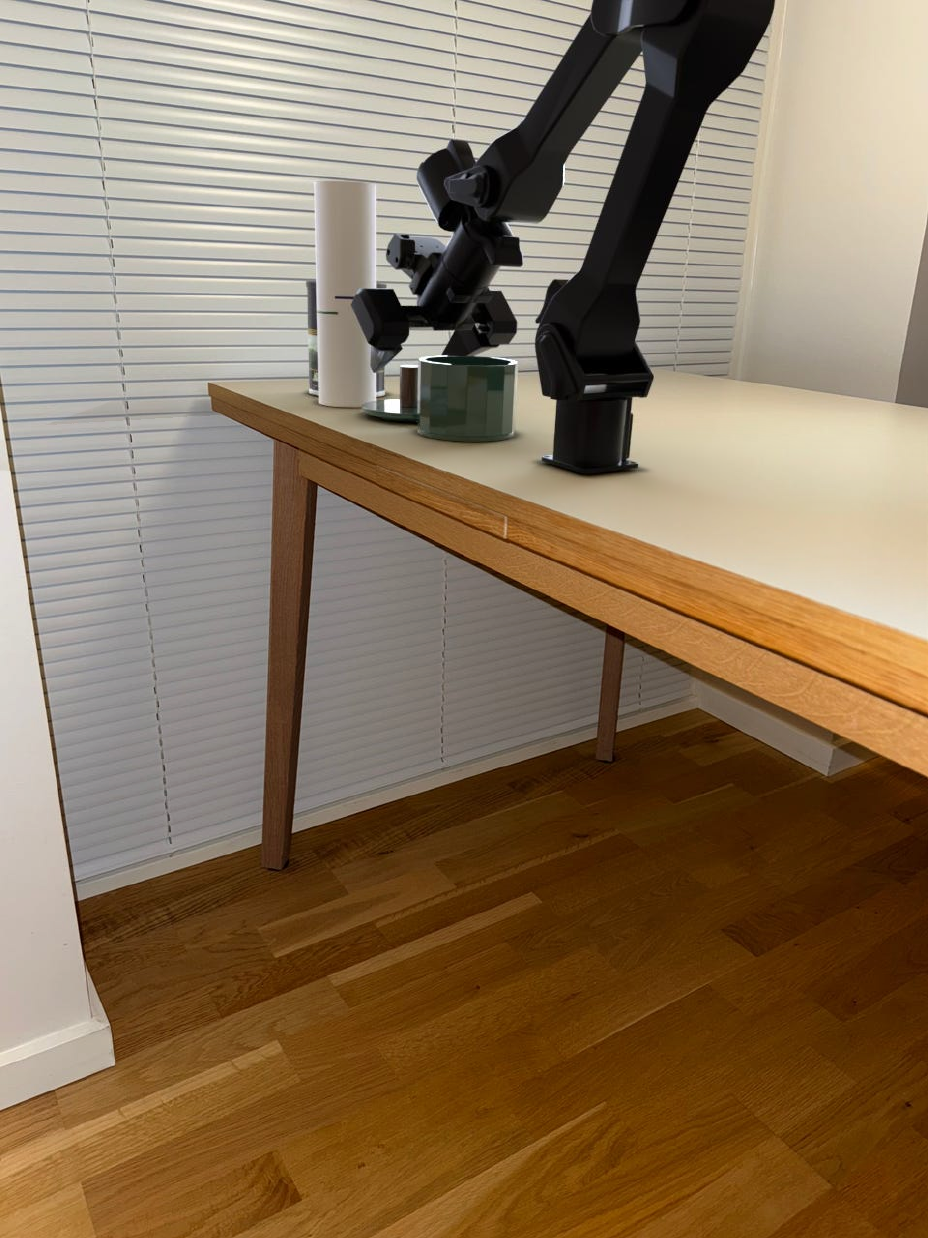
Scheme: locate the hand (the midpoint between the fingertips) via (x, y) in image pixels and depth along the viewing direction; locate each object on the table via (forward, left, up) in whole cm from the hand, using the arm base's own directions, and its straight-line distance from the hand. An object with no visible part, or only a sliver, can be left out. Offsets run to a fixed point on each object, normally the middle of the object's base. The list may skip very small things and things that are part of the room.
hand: (407, 367), depth 107 cm
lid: (0, -1, -5) cm, 5 cm away
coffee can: (+2, +19, -6) cm, 20 cm away
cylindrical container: (-2, +11, -6) cm, 13 cm away
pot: (0, -13, -5) cm, 14 cm away
